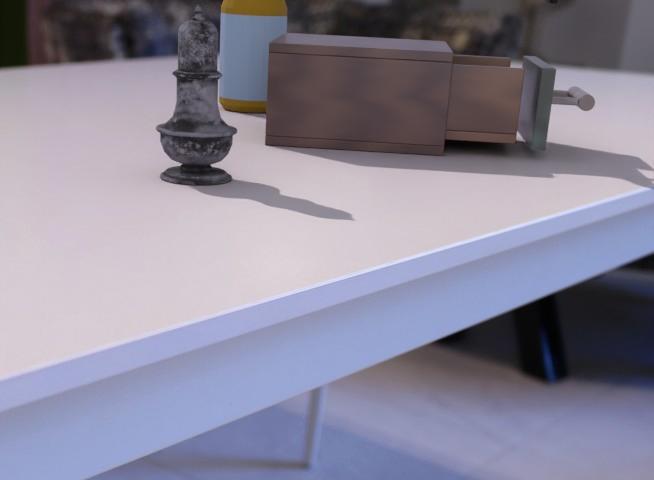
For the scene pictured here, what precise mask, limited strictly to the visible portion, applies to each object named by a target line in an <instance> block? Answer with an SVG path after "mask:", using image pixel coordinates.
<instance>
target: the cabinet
mask: <svg viewBox="0 0 654 480" xmlns="http://www.w3.org/2000/svg"><path fill="white" fill-rule="evenodd" d="M454 55H455V54H454V51H453V50H452V48H451V47H450V45H449V44H448V43H447V41H445V40H430V39H429V40H427V39H412V38H411V39H410V38H391V37H373V36H372V37H371V36H354V35H353V36H352V35H335V34H333V35H332V34H319V33H318V34H315V33H297V32H287V33H285V34H283V35H281V36H280V37H278V38H276V39H275V40H273V41H272V42H270V43H269V58H268V83H267V108H266V113H265V136H264V145H266V146H279V147H296V148H298V147H299V148H310V149H311V148H313V149H327V150H328V149H329V150H342V151H343V150H344V151H362V152H377V153H393V154H394V153H395V154H406V155H407V154H408V155H424V156H440V157H441V156H444V153H445V145H446V140H445V135H446V125H447V115H448V105H449V95H450V85H451V76H452V66H453V63H452V62H453V56H454Z"/></svg>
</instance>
